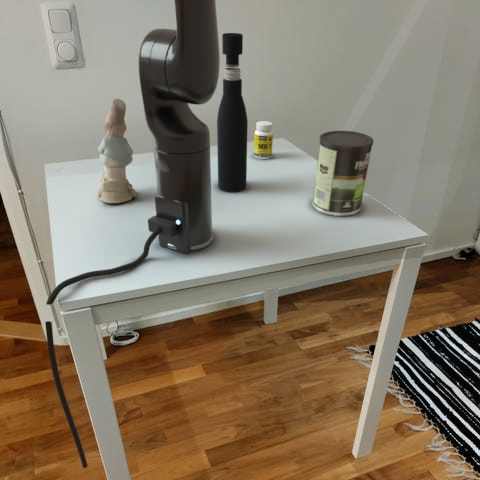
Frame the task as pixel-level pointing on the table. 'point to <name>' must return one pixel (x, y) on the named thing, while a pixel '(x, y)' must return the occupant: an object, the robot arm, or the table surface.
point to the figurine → (115, 157)
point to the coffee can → (341, 172)
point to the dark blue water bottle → (232, 121)
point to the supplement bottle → (263, 140)
